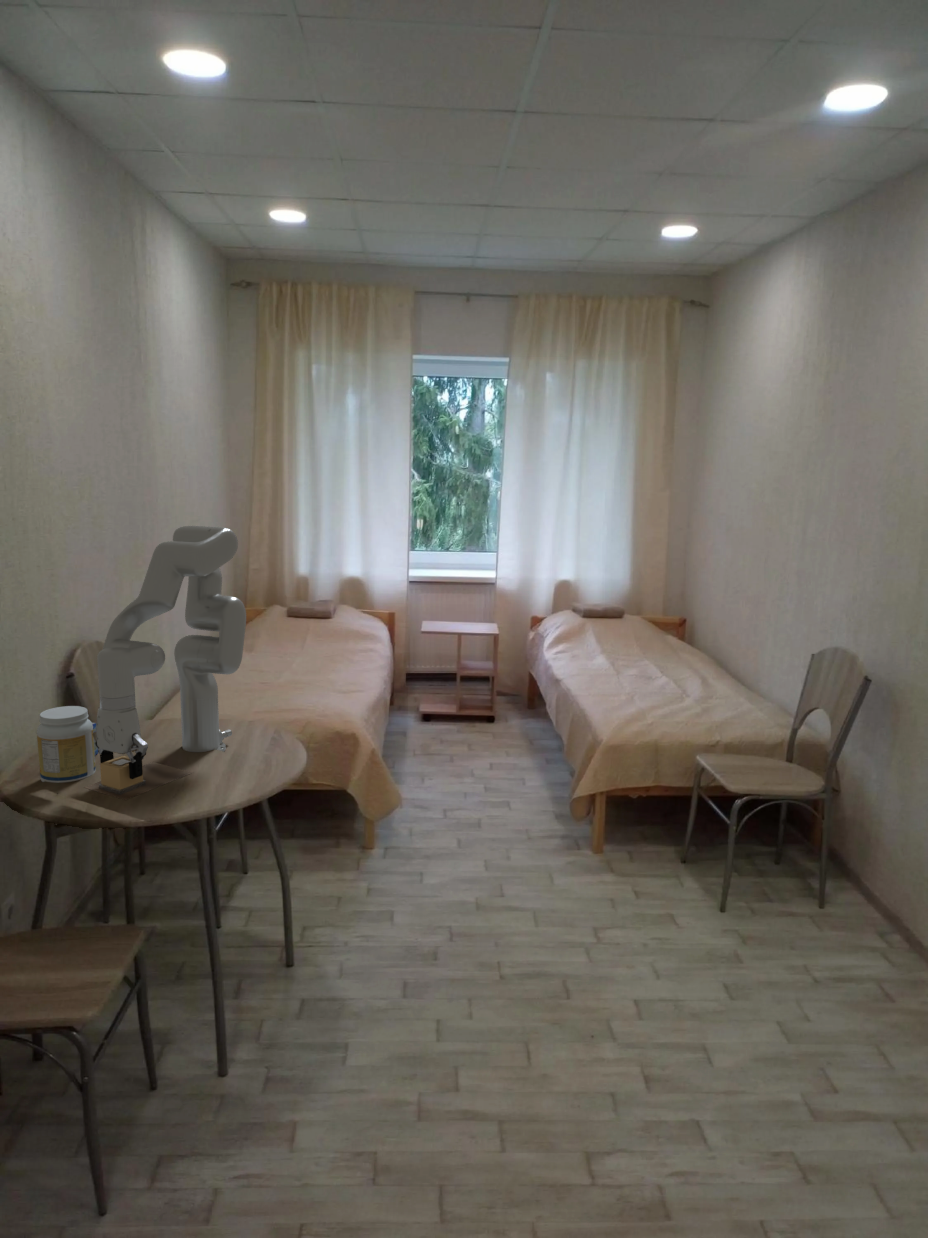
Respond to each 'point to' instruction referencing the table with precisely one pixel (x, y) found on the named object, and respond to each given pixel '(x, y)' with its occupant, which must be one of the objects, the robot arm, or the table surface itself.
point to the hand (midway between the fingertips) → (121, 773)
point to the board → (148, 780)
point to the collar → (117, 774)
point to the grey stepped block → (124, 790)
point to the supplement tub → (65, 744)
